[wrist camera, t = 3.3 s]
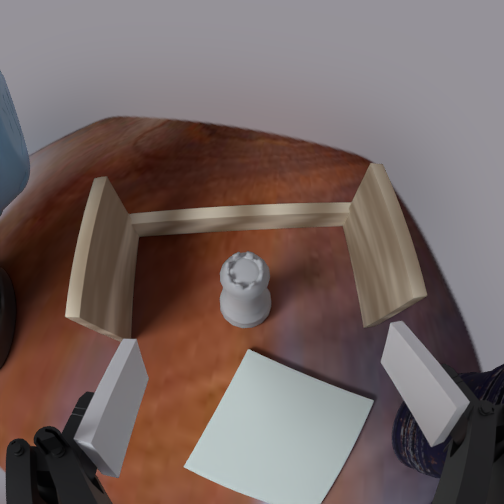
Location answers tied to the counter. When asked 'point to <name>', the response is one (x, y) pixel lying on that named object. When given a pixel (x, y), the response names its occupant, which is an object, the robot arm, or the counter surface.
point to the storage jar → (433, 458)
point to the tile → (279, 434)
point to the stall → (233, 219)
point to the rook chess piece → (245, 290)
